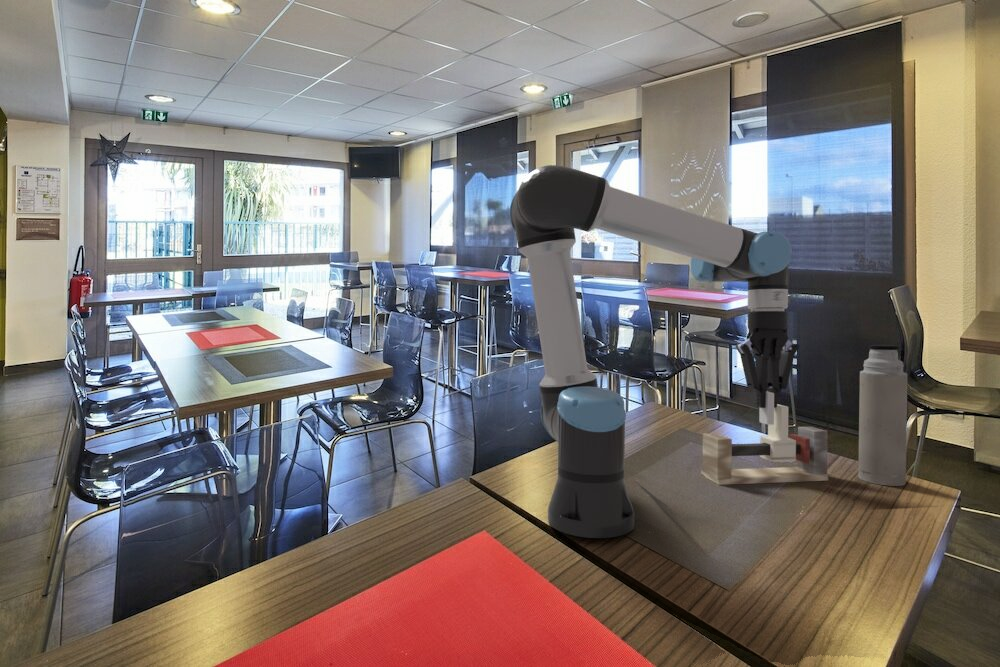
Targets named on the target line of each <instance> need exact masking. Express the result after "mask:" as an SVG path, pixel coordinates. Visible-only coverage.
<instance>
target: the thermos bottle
mask: <svg viewBox="0 0 1000 667" xmlns="http://www.w3.org/2000/svg"><path fill="white" fill-rule="evenodd" d="M899 349H900V348H899V345H892V344H871V345H869V353H868V358H867V359H865V360H864V361H863V364H862V365H863V370H861V371H859V401H858V402H859V406H858V407H859V408H858V409H859V410H858V411H859V412H858V413H859V415H858V421H859V422H858V475H857V476H858V478H859V479H860V480H861V481H863V482H866V483H871V484H873V485H874V484H875V485H881V486H889V487H899V486H900V487H901V486H905V485H906V484H907V435H908V434H907V430H908V428H907V426H908V425H907V424H908V422H907V421H908V373H907V372H904V367H905V365H904V362H903V361H902V360H900V359H899V352H898V350H899Z"/></svg>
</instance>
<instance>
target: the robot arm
mask: <svg viewBox="0 0 1000 667" xmlns="http://www.w3.org/2000/svg"><path fill="white" fill-rule="evenodd" d="M512 197H513V198H512V199H511V203H510V208H509V220H510V223H511V226H512V228H513V230H514V231H515V236H516V241H517V242H516V243H517V248H518V253H520V254H522V255H523V256H524V257H526V259H527V265H528V270H529V277H530V284H531V289H532V290H531V291H532V297H533V302H534V303H533V304H534V308H535V315H536V316H535V317H536V322H537V328H538V336H539V341H540V348H541V354H542V360H543V367H544V374H545V375H544V376H543V378H542V379H541V381H540V382H539V391H540V397H541V406H540V419H541V423H542V426H543V427H544V429H545V431H546V432H547V434H548V435H549V436H550V437H551V438H552V439H554V440H555V441H556V442H557V473H558V474H557V479H556V483H555V485H554V488H553V492H552V494H551V495H552V496H551V498H550V501H549V503H548V508H547V522H548V524H549V525H550V526H551V527H552V528H553V529H555V530H557V531H559V532H562V533H563V534H566V535H571V536H574V537H580V538H590V539H592V538H593V539H607V538H616V537H620V536H624V535H626V534H628V533H630V532H631V531H633V530H634V529H635V511H634V507H633V504H632V501H631V498H630V494H629V491H628V489H627V485H626V482H625V450H626V449H625V448H626V447H625V445H626V442H625V441H626V440H625V438H626V431H625V430H626V417H627V414H626V410H625V400H624V397H623V396H622V395H621V394H620V393H618V392H616V391H614V390H613V389H607V388H603V387H599V386H598V379H597V375H595V374H596V373H595V374H594V373H593V372H592V371H590V369H589V368H588V363H587V359H586V358H587V357H586V351H585V350H586V349H585V343H584V336H583V331H582V330H583V329H582V324H581V316H580V311H579V304H578V298H577V291H576V284H575V277H574V272H573V271H574V270H573V264H572V259H571V250H572V248H573V247H574V245H575V244H576V242H577V240H576V239H577V238H576V234H575V233H576V232H575V230H580V231H584V232H587V233H590V232H591V231H593V230H600V231H604V232H606V233H610V234H613V235H616V236H620V237H624V238H626V239H630V240H633V241H637V242H638V243H643V244H647V245H648V246H653V247H656V248H660V249H662V250H665V251H670V252H673V253H676V254H678V255H682V256H686V257H688V258H690V272H691V274H692V278H694V279H695V280H696V281H699V282H708V283H712V282H713V283H715V282H716V283H718V282H720V283H723V282H725V283H727V282H729V283H730V282H731V283H732V282H734V283H735V282H741V283H747V309H748V310H750V311H749V312H748V313H747V329H748V334H747V336H746V339H745V340H744V341H743V342H741V343H737V344H736V345H735V349H736V350H737V352H738V353H739V355H740V359H741V364H742V369H743V373H744V377H745V382H746V386H747V389H750V390H753V391H754V392H755V394H756V396H755V397H756V400H755V401H756V404H755V405H756V407H757V408H759V412H758V413H759V415H758V416H759V417H758V418H759V420H758V421H759V423H761V424H765V425H767V426H768V424H774V408H776V407H777V404H778V394H780V393H781V392H782V390H786V389H787V387H788V385H789V384H788V383H789V378H790V374H791V372H792V371H791V370H792V365H793V362H794V358H795V354H796V353H797V351H798V350H799V348H800V346H799V344H798V343H794V342H792V341H791V340H789V336H788V334H787V329H788V327H789V325H788V324H789V313H788V312H787V311H785V310H786V309H788V308H789V307H788V306H789V264H790V262H791V259H792V253H793V249H792V245H791V243H790V240H789V239H788V238H787V237H786V236H785V235H784V234H783V233H781V232H779V231H773V230H772V231H771V230H770V231H761V232H755V231H751V230H748V229H746V228H745V229H744V228H742V227H738V226H734V225H731V224H728V223H725V222H722V221H720V220H719V221H718V220H715V219H713V218H709V217H706V216H703V215H699V214H697V213H693V212H692V211H691V212H690V211H687V210H684V209H681V208H678V207H675V206H672V205H669V204H665V203H663V202H660V201H656V200H654V199H649V198H648V197H647V198H646V197H644V196H640V195H638V194H634V193H631V192H628V191H624V190H622V189H619V188H615V187H613V186H611V185H610V183H609V181H608V179H606V178H604V177H601V176H598V175H596V174H591V173H590V172H585V171H583V170H579V169H576V168H572V167H568V166H563V165H555V164H554V165H552V164H551V165H549V164H548V165H543V166H540V167H537V168H535V169H533V170H532V171H530V173H528V174H527V175H526V176H525V177H524V179H523V180H522V181H521V184H520V185H519V188H518V190H516V193H515V194H514V196H512ZM752 351H753V352H752ZM754 360H755V361H754Z"/></svg>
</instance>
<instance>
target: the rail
mask: <svg viewBox="0 0 1000 667" xmlns="http://www.w3.org/2000/svg"><path fill="white" fill-rule="evenodd" d="M788 438H790V439H793V440H796V461H797V466H789V467H782V466H781V467H763V468H762V467H759V468H758V467H756V468H732V466H733V465H732V460H733V459H732V457H747V456H748V457H749V456H752V457H753V456H760V455H770V444H767V443H736V444H735V443H732V438H730V437H728V436H725V435H723V434H719V433H717V432H710V433H709V432H708V433H707V432H706V433H705V432H704V433H703V432H702V470H700V475H701V474H703V475H704V476H705V477H704V476H703V477H704V478H706V479H708V480H710V481H711V482H713V483H715V484H716V485H719V486H720V485H744V484H745V485H746V484H747V485H749V484H771V483H773V484H774V483H777V484H778V483H797V482H798V483H799V482H821V481H822V482H823V481H829V474H828V430H825V429H821V428H817V427H814V426H797V434H795V433H788Z"/></svg>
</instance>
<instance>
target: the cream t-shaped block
mask: <svg viewBox="0 0 1000 667" xmlns="http://www.w3.org/2000/svg"><path fill="white" fill-rule="evenodd" d="M759 442H760V443H767V444H770V455H759V457H760V458H762V459H764V460H767V461H770V462H771V463H787V462H788V463H790V462H792V463H793V462H796V461H797V460H796V440H793V439H790V438H789V406H787V405H782V404H778V403H777V407H776V408H774V424H768V425H767V436H765V435H763V436H761V435H760V440H759Z"/></svg>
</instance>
